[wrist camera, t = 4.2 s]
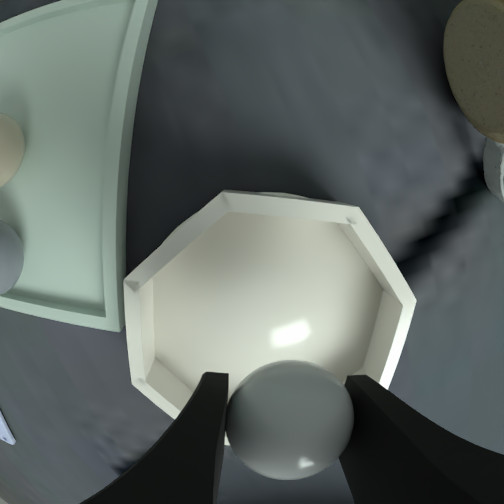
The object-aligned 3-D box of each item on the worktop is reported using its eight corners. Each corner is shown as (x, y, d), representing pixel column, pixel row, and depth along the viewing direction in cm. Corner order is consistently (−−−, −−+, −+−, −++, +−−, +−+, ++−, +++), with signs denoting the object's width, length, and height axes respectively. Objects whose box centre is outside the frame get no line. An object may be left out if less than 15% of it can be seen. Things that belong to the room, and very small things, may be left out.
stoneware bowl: (149, 403, 14) (138, 435, 12) (144, 182, 12) (122, 183, 9) (353, 411, 15) (366, 440, 13) (404, 209, 12) (435, 217, 10)
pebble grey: (224, 419, 9) (221, 501, 6) (229, 333, 8) (225, 418, 5) (323, 419, 9) (347, 494, 6) (345, 337, 9) (392, 411, 5)
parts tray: (-38, 285, 12) (-50, 291, 11) (-21, 43, 9) (-32, 38, 8) (128, 320, 13) (119, 332, 12) (159, -5, 10) (153, -18, 8)
